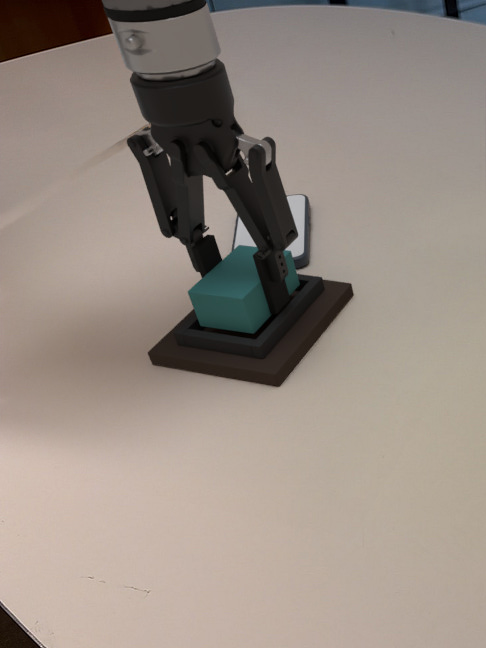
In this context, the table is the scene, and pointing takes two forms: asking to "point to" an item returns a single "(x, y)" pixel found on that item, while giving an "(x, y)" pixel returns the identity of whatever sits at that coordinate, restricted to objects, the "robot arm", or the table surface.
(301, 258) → the smartphone
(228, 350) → the dark brown tray
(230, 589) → the table surface
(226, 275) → the teal block
